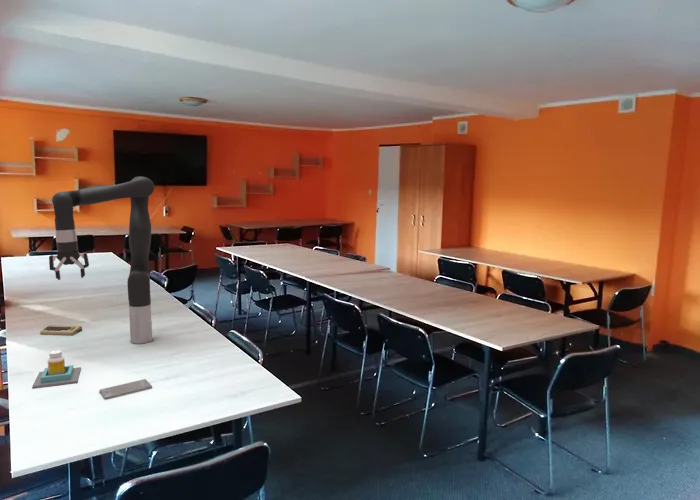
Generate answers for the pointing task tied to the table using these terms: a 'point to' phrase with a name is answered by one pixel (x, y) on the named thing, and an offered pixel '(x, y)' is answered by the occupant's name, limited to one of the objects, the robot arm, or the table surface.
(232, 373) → the table surface
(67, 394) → the table surface
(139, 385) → the phone
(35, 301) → the table surface
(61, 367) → the supplement bottle
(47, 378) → the bottle dock
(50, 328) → the computer
